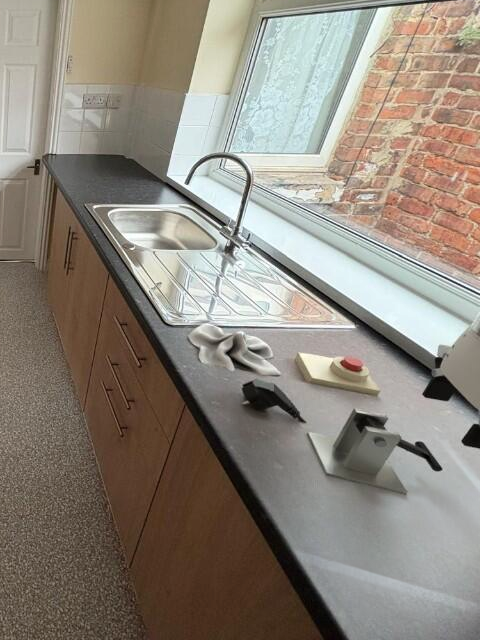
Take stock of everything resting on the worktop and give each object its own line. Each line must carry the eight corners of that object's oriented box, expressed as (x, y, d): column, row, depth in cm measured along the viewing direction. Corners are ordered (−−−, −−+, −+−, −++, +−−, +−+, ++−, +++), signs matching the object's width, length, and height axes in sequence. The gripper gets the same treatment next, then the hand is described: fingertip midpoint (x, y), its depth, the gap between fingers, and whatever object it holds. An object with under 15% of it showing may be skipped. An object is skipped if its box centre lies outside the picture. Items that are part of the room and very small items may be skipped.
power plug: (312, 435, 78) (263, 386, 80) (274, 445, 83) (228, 399, 85) (312, 415, 82) (264, 369, 84) (275, 427, 87) (231, 383, 89)
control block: (356, 370, 95) (363, 356, 93) (376, 398, 87) (384, 384, 85) (294, 359, 98) (300, 345, 97) (308, 385, 91) (315, 371, 89)
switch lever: (416, 449, 71) (429, 441, 70) (434, 474, 67) (448, 466, 66) (351, 418, 72) (362, 410, 71) (365, 441, 68) (377, 433, 67)
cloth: (186, 321, 112) (191, 302, 109) (266, 336, 106) (273, 316, 103) (192, 376, 94) (199, 354, 91) (289, 398, 88) (300, 376, 85)
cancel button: (355, 364, 91) (359, 357, 91) (362, 373, 89) (366, 367, 88) (338, 360, 92) (341, 354, 92) (344, 370, 90) (348, 364, 89)
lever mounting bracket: (376, 452, 76) (403, 410, 71) (403, 498, 68) (436, 454, 63) (304, 436, 79) (326, 395, 74) (323, 478, 71) (348, 435, 67)
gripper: (614, 382, 49) (531, 476, 56) (503, 303, 63) (449, 387, 71) (528, 369, 51) (459, 461, 59) (440, 296, 66) (393, 378, 73)
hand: (453, 420), depth 65 cm, fingers open, 9 cm apart
